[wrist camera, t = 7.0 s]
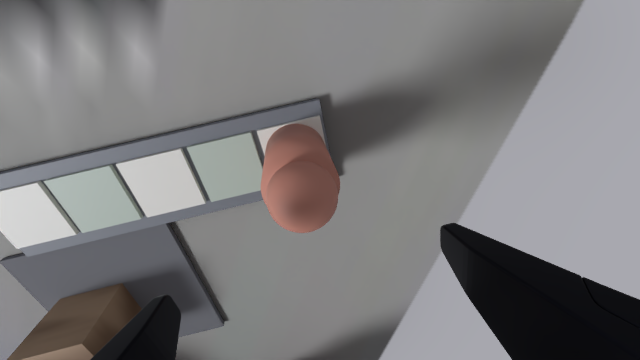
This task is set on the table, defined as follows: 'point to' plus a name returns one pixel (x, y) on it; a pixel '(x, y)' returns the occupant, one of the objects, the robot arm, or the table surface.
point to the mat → (121, 273)
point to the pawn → (299, 179)
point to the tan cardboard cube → (79, 325)
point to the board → (143, 181)
